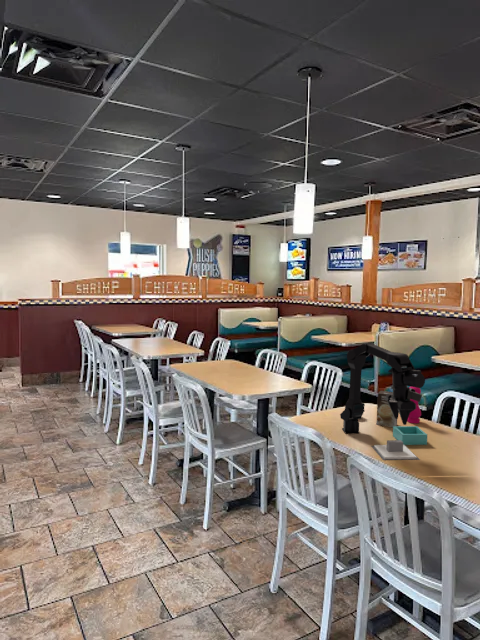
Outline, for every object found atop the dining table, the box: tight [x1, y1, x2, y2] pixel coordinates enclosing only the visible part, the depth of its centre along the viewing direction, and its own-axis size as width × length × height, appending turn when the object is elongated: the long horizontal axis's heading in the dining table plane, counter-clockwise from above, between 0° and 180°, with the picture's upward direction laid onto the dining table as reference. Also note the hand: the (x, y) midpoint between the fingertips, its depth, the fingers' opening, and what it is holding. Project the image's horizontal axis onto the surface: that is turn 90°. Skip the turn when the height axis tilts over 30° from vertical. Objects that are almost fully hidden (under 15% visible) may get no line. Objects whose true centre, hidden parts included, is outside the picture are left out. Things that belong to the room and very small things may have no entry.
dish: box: [392, 425, 428, 446], centre depth 202 cm, size 11×11×5 cm
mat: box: [371, 445, 421, 461], centre depth 188 cm, size 15×15×1 cm
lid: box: [373, 439, 418, 459], centre depth 187 cm, size 13×13×5 cm
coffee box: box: [376, 390, 398, 428], centre depth 224 cm, size 9×6×16 cm
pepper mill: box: [407, 386, 422, 425], centre depth 228 cm, size 7×7×20 cm
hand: (400, 421), depth 187 cm, fingers open, 9 cm apart
